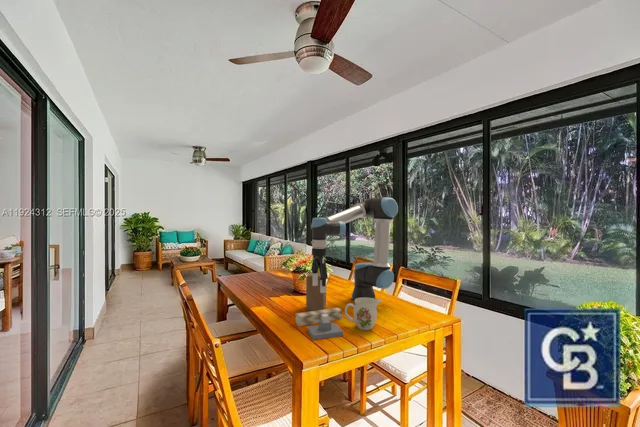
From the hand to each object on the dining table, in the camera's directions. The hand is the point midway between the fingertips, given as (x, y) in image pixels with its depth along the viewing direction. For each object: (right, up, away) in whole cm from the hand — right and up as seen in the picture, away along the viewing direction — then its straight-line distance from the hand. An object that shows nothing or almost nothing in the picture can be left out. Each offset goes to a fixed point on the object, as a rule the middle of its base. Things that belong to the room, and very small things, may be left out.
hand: (318, 289), depth 151 cm
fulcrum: (+3, -17, -15) cm, 22 cm away
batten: (0, -17, 0) cm, 17 cm away
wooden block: (-2, -16, +19) cm, 25 cm away
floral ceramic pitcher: (+22, -17, -8) cm, 28 cm away
